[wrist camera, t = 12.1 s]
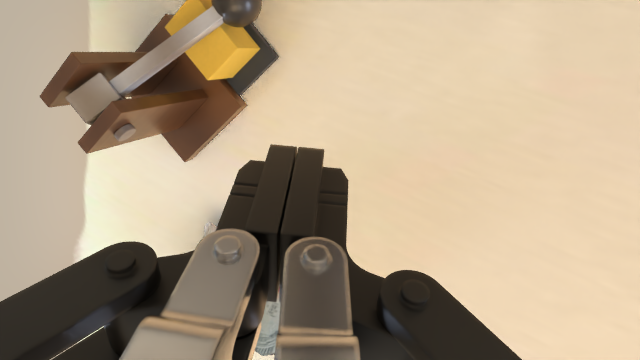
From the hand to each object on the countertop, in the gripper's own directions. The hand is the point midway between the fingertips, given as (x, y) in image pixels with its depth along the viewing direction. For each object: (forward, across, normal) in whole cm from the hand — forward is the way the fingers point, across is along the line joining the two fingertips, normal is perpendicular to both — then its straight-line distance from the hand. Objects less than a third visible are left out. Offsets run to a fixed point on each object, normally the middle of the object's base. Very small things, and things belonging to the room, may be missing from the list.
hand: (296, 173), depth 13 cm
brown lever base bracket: (+26, +13, +10) cm, 30 cm away
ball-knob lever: (+21, +11, +5) cm, 24 cm away
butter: (+26, +8, +6) cm, 28 cm away
